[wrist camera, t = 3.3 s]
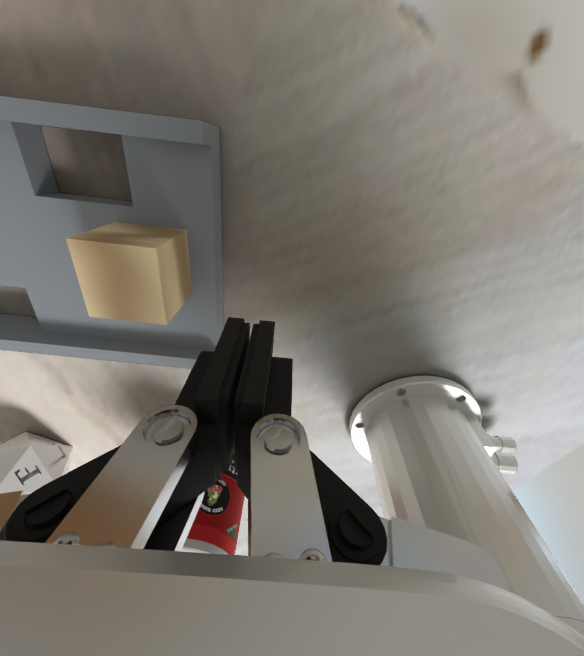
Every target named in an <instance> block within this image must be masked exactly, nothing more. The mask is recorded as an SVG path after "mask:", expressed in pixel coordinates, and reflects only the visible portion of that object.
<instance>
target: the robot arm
mask: <svg viewBox="0 0 584 656" xmlns="http://www.w3.org/2000/svg"><path fill="white" fill-rule="evenodd" d="M274 329H275V322H272V321H262V320H260V323H259V324H254V325H253V329H252V333H251V337H250V341H249V333H250V324H249V323H244V319H241V318H231V317H229V318H228V319H227V322H226V324H225V327H224V329H223V331H222V334H221V336H220V339H219V341H218V343H217V346H216V348H215V350H214V352H213V351H201V352H200V354H199V356H198V358H197V360H196V362H195V364H194V366H193V368H192V370H191V373H190V375H189V377H188V379H187V381H186V383H185V385H184V387H183V389H182V391H181V393H180V395H179V397H178V399H177V401H176V403H175V405H169V406H163V407H161V408H158V409H155V410H154V411H152V412H150V413H149V414H147V415H146V416H145V417H144V418H143V419H142V420H141V421H140V422H139V424H138V425H137V426H136V428H135V429H134V430H133V431H132V433H131V434H130V435H129V437H128V438H127V439H126V440H125V442H124V443H123V444H122V445H121V446H119V447H117V448H115V449H113V450H111V451H109V452H107V453H105V454H103V455H101V456H99V457H97V458H95V459H93V460H92V461H90V462H88V463H86V464H84V465H82V466H80V467H78V468H76V469H74V470H72V471H70V472H68V473H66V474H64V475H62V476H61V477H59V478H57V479H55V480H53V481H51V482H49V483H47V484H45V485H43V486H42V487H40V488H39V489H37V490H35V491H34V492H32V493H31V494H25V492H24V491H23V490H22V491H15V492H8V493H1V494H0V656H584V604H583V603H582V601H581V599H580V598H579V596H578V595H577V593H576V591H575V590H574V588H573V587H572V585H571V584H570V582H569V580H568V579H567V577H566V576H565V574H564V572H563V571H562V569H561V568H560V566H559V565H558V563H557V561H556V560H555V558H554V557H553V555H552V553H551V552H550V550H549V549H548V547H547V545H546V544H545V542H544V541H543V539H542V538H541V536H540V534H539V533H538V531H537V530H536V528H535V526H534V525H533V523H532V522H531V520H530V519H529V517H528V515H527V514H526V512H525V511H524V509H523V508H522V506H521V504H520V503H519V501H518V499H517V498H516V496H515V495H514V493H513V492H512V490H511V488H510V487H509V485H508V484H507V482H506V480H505V479H504V477H503V476H502V474H501V473H509V474H514V473H516V472H517V468H518V465H517V461H516V459H515V457H514V456H513V455H512V454H511V453H514V452H515V451H516V443H515V441H514V440H513V439H512V438H509V437H500V436H495V437H493V436H489V434H487V433H486V432H485V430H484V429H483V427H482V426H481V421H482V414H481V409H480V407H479V405H478V403H477V401H476V400H475V398H474V397H473V396H472V394H471V393H470V392H469V391H468V390H467V389H466V388H464V387H463V386H462V385H460V384H458V383H456V382H454V381H452V380H449V379H445V378H442V377H435V376H412V377H406V378H401V379H397V380H394V381H391V382H388V383H386V384H384V385H382V386H380V387H378V388H376V389H374V390H373V391H371V392H370V393H369V394H367V395H366V396H365V397H364V398H363V399H362V400H361V401H360V402H359V403H358V404H357V406H356V407H355V409H354V410H353V412H352V415H351V417H350V422H349V430H350V437H351V441H352V443H353V446H354V447H355V449H356V450H357V451H358V452H359V453H360V454H361V455H362V456H363V457H364V458H366V459H367V460H369V461H371V462H372V465H373V469H374V474H375V478H376V483H377V487H378V491H379V496H380V500H381V505H382V509H383V513H384V518H382V517H379V516H378V515H377V514H376V513H375V512H374V510H373V509H372V508H371V507H370V506H369V505H368V504H367V503H366V502H365V501H364V500H362V499H361V498H360V497H359V496H358V495H357V494H356V493H355V492H354V491H353V490H352V489H351V488H350V487H349V486H348V485H347V484H345V483H344V482H343V481H342V480H341V479H340V478H339V477H338V476H337V475H336V474H335V473H334V472H333V471H332V470H331V469H330V468H329V467H327V466H326V465H325V464H324V463H323V462H322V461H321V460H320V459H319V458H318V457H317V456H316V455H315V454H314V453H313V452H312V451H310V450H309V445H308V440H307V435H306V432H305V430H304V427H303V426H302V425H301V424H300V422H299V421H297V420H296V419H295V418H293V417H291V403H292V359H289V358H278V357H272V353H273V341H274ZM233 452H234V470H237V486H238V487H239V488H240V490H241V491H242V492H243V494H244V495H245V496H246V498H247V499H248V556H241V555H226V554H210V553H195V552H181V550H182V548H183V545H184V543H185V540H186V538H187V536H188V533H189V531H190V529H191V526H192V524H193V522H194V519H195V517H196V514H197V512H198V510H199V507H200V505H201V503H202V500H203V497H204V491H206V490H207V489H209V488H210V487H211V486H213V485H214V484H215V482H216V480H221V477H222V473H223V469H225V470H229V469H230V466H231V461H232V456H233Z"/></svg>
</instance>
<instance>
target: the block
mask: <svg viewBox="0 0 584 656" xmlns="http://www.w3.org/2000/svg"><path fill="white" fill-rule="evenodd" d="M66 241H67V244H68V247H69V251H70V254H71V258H72V261H73V264H74V268H75V271H76V274H77V278H78V281H79V284H80V288H81V291H82V294H83V298H84V301H85V305H86V308H87V311H88V315H89V317H96V318H106V319H115V320H125V321H134V322H144V323H153V324H163V325H167V324H168V323H169V321H170V320H171V319H172V318H173V317H174V315H175V314H176V313H177V312H178V311H179V309H180V308H181V307H182V306H183V304H184V303H185V302H186V301H187V300H188V298H189V297H190V296H191V295H192V284H191V272H190V260H189V248H188V236H187V230H186V229H177V228H168V227H159V226H150V225H141V224H132V223H124V222H114V223H111V224H108V225H105V226H102V227H99V228H96V229H93V230H90V231H87V232H84V233H81V234H78V235H75V236H72V237H69V238H66Z"/></svg>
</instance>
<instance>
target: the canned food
mask: <svg viewBox="0 0 584 656" xmlns="http://www.w3.org/2000/svg"><path fill="white" fill-rule="evenodd" d="M244 497H245V495H244V494H243V492H242V491H241V490H240V488H239V487H238V486H237V470H234V452H233V456H232V461H231V466H230V469H229V470H225V469H223V473H222V477H221V480H216V482H215V484H214V485H213V486H211V487H210V488H209V489H207V490H206V491H204V497H203V500H202V503H201V505H200V507H199V510H198V512H197V514H196V517H195V519H194V522H193V524H192V526H191V529H190V531H189V533H188V536H187V538H186V540H185V543H184V545H183V548H182V550H181V552H195V553H210V554H226V555H234V554H235V550H236V544H237V538H238V532H239V526H240V520H241V514H242V508H243V503H244Z"/></svg>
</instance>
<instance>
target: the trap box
mask: <svg viewBox="0 0 584 656" xmlns="http://www.w3.org/2000/svg"><path fill="white" fill-rule="evenodd" d="M40 125H41V126H50V127H58V128H66V129H75V130H83V131H91V132H100V133H108V134H116V135H121V138H122V144H123V150H124V156H125V162H126V168H127V174H128V180H129V185H130V191H131V197H132V201H127V200H118V199H110V198H101V197H92V196H83V195H75V194H66V193H59V191H58V187H57V184H56V180H55V177H54V173H53V170H52V166H51V163H50V159H49V156H48V152H47V149H46V145H45V142H44V138H43V135H42V131H41V128H40ZM114 222H124V223H132V224H141V225H150V226H159V227H168V228H177V229H186V230H187V236H188V248H189V260H190V272H191V284H192V295H191V296H190V297H189V298H188V300H187V301H186V302H185V303H184V304H183V306H182V307H181V308H180V309H179V311H178V312H177V313H176V314H175V315H174V317H173V318H172V319H171V320H170V321H169V323H168V324H167V325H163V324H153V323H144V322H134V321H125V320H115V319H106V318H96V317H89V315H88V311H87V308H86V305H85V301H84V298H83V294H82V291H81V288H80V284H79V281H78V278H77V274H76V271H75V268H74V264H73V261H72V258H71V254H70V251H69V247H68V244H67V241H66V238H69V237H72V236H75V235H78V234H81V233H84V232H87V231H90V230H93V229H96V228H99V227H102V226H105V225H108V224H111V223H114ZM0 286H9V287H18V288H25V289H26V292H27V294H28V296H29V299H30V301H31V304H32V306H33V309H34V311H35V314H36V316H37V317H31V316H22V315H12V314H2V313H0V350H8V351H18V352H28V353H38V354H48V355H58V356H67V357H77V358H87V359H97V360H107V361H117V362H127V363H136V364H146V365H156V366H166V367H176V368H186V369H192V368H193V366H194V364H195V362H196V360H197V358H198V356H199V354H200V352H201V351H213V352H214V350H215V348H216V346H217V343H218V341H219V339H220V336H221V334H222V331H223V329H224V301H223V256H222V211H221V165H220V127H217V126H215V125H212V124H210V123H207V122H204V121H201V120H193V119H185V118H177V117H169V116H160V115H152V114H144V113H136V112H128V111H120V110H111V109H103V108H95V107H87V106H79V105H70V104H62V103H54V102H46V101H38V100H30V99H21V98H13V97H5V96H0Z"/></svg>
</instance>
